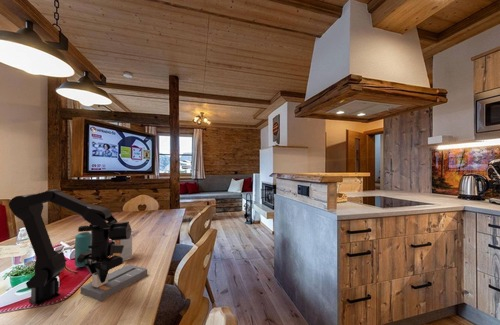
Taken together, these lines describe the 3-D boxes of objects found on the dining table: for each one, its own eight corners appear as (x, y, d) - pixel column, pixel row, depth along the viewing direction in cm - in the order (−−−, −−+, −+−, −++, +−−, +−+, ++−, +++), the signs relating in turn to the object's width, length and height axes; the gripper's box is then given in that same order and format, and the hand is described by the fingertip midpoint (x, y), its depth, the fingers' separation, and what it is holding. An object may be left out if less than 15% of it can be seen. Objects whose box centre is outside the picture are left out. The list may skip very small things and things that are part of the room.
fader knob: (97, 290, 78) (97, 275, 78) (92, 289, 79) (92, 273, 80) (107, 285, 82) (108, 270, 82) (103, 283, 83) (103, 268, 83)
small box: (111, 259, 110) (111, 234, 110) (123, 254, 115) (123, 231, 115) (120, 262, 106) (120, 236, 106) (132, 257, 111) (132, 233, 111)
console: (100, 301, 75) (100, 293, 75) (80, 293, 80) (80, 286, 80) (147, 274, 93) (147, 268, 93) (129, 269, 98) (129, 264, 98)
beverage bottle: (89, 263, 105) (89, 223, 106) (93, 266, 101) (93, 225, 102) (72, 267, 100) (73, 226, 101) (76, 272, 96) (76, 228, 97)
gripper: (135, 237, 85) (135, 276, 84) (106, 232, 92) (106, 267, 92) (107, 247, 74) (107, 291, 74) (77, 240, 82) (76, 280, 82)
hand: (100, 281), depth 81 cm, fingers closed on fader knob, 3 cm apart
